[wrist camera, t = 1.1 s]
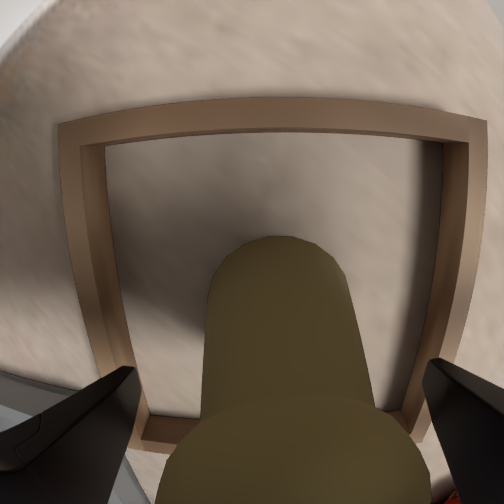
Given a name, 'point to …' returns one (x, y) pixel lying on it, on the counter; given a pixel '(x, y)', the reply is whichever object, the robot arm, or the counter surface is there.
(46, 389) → the gray square tray
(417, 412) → the frame
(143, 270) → the counter surface
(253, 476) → the olive shaker
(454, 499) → the dragon fruit
